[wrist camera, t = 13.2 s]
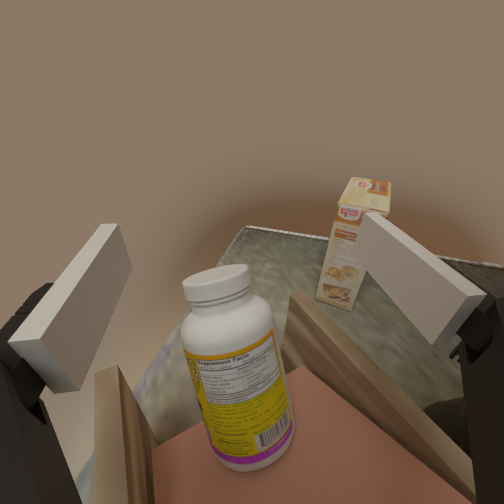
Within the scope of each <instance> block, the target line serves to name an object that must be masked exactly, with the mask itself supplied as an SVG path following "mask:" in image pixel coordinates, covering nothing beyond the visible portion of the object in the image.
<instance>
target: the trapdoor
mask: <svg viewBox="0 0 504 504" xmlns="http://www.w3.org/2000/svg"><path fill="white" fill-rule="evenodd" d="M286 379H287V384H288V388H289V393H290V398H291V402H292V407H293V412H294V417H295V429H294V435H293V438H292V441H291V443H290V445H289V447H288V448H287V450H286V451H285V452H284V454H283V455H282V456H281V457H280V458H279V459H278V460H276V461H275V462H274V463H273V464H271V465H269V466H267V467H265V468H263V469H260V470H256V471H250V472H238V471H234V470H231V469H229V468H227V467H225V466H224V465H223V464H222V463H220V462H219V460H218V459H217V458H216V456H215V455H214V453H213V451H212V448H211V445H210V442H209V439H208V435H207V431H206V428H205V424H204V421H202V422H200V423H198V424H196V425H195V426H193V427H191V428H189V429H187V430H186V431H184V432H182V433H180V434H178V435H177V436H175V437H173V438H171V439H169V440H168V441H166V442H164V443H162V444H160V445H159V446H157V447H155V448H153V449H151V452H152V467H153V482H154V496H155V504H473V503H471V502H470V501H469V500H468V499H466V498H465V497H464V496H463V495H461V494H460V493H459V492H458V491H457V490H455V489H454V488H453V487H452V486H450V485H449V484H448V483H447V482H445V481H444V480H443V479H442V478H441V477H439V476H438V475H437V474H436V473H434V472H433V471H432V470H431V469H429V468H428V467H427V466H426V465H425V464H423V463H422V462H421V461H420V460H418V459H417V458H416V457H415V456H413V455H412V454H411V453H410V452H409V451H407V450H406V449H405V448H404V447H402V446H401V445H400V444H399V443H397V442H396V441H395V440H394V439H393V438H391V437H390V436H389V435H388V434H386V433H385V432H384V431H383V430H381V429H380V428H379V427H378V426H376V425H375V424H374V423H373V422H372V421H370V420H369V419H368V418H367V417H365V416H364V415H363V414H362V413H360V412H359V411H358V410H357V409H356V408H354V407H353V406H352V405H351V404H349V403H348V402H347V401H346V400H344V399H343V398H342V397H341V396H340V395H338V394H337V393H336V392H335V391H333V390H332V389H331V388H330V387H328V386H327V385H326V384H325V383H324V382H322V381H321V380H320V379H319V378H317V377H316V376H315V375H314V374H312V373H311V372H310V371H309V370H308V369H306V368H305V367H304V366H303V365H302V366H300V367H299V368H297V369H295V370H293V371H291V372H290V373H288V374H286Z"/></svg>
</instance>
